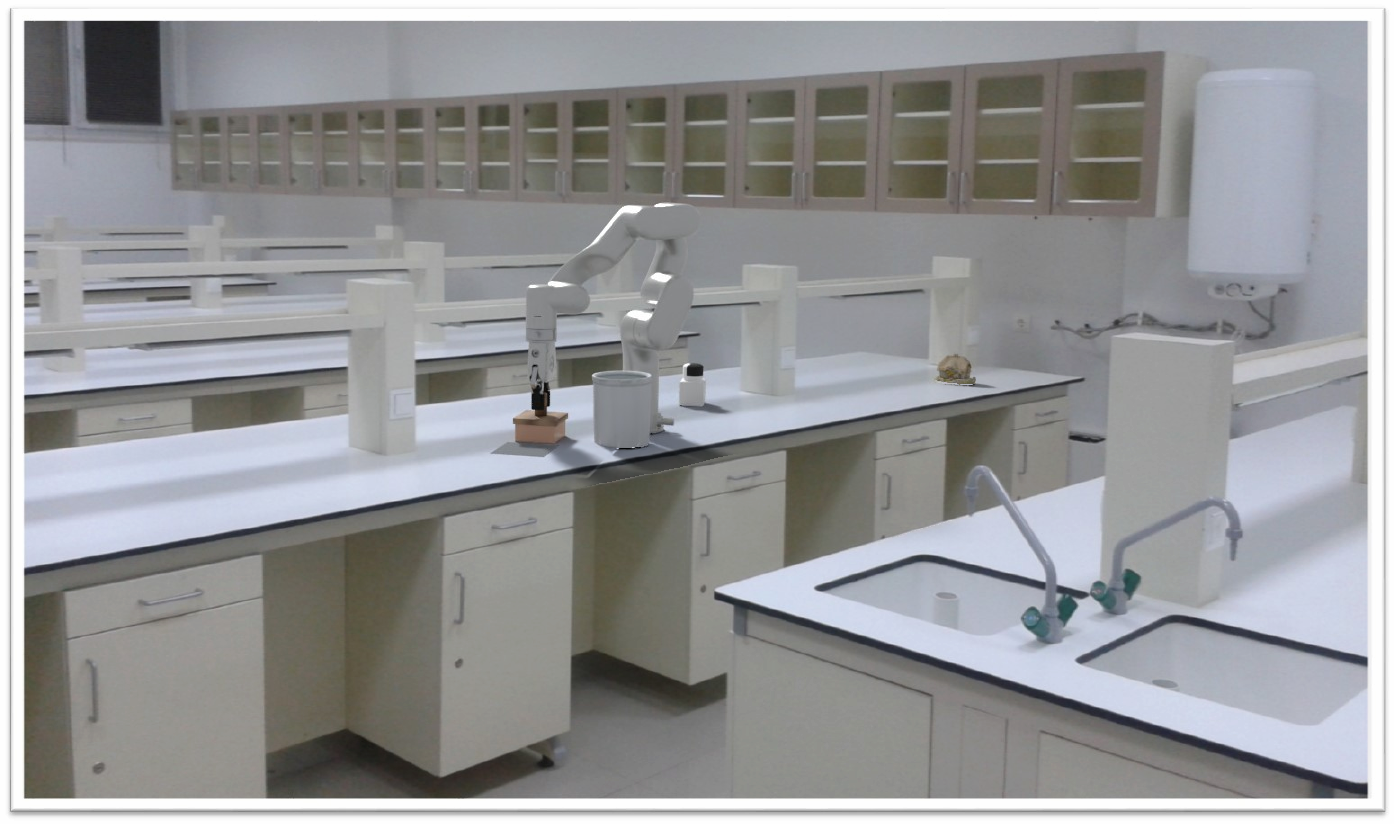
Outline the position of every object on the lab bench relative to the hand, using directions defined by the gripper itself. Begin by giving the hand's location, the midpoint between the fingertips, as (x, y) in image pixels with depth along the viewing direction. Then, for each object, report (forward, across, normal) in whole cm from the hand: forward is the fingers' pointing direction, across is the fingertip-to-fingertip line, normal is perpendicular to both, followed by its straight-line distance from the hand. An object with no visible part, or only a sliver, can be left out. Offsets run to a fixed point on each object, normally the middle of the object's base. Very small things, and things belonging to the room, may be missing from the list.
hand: (540, 407), depth 314 cm
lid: (+4, 0, 0) cm, 4 cm away
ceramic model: (+9, +129, -106) cm, 167 cm away
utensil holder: (+9, +2, -20) cm, 22 cm away
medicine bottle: (+9, +62, -28) cm, 68 cm away
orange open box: (+9, 0, 0) cm, 9 cm away
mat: (+9, -13, 0) cm, 16 cm away
